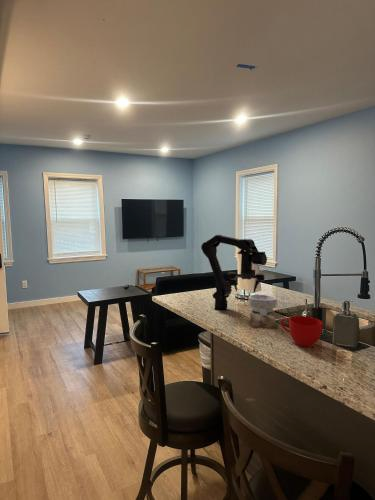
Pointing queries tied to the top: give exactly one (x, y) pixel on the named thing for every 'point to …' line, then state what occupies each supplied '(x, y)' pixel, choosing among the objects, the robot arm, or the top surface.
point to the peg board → (258, 324)
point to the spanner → (263, 314)
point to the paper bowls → (262, 302)
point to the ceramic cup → (304, 330)
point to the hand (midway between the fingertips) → (245, 292)
